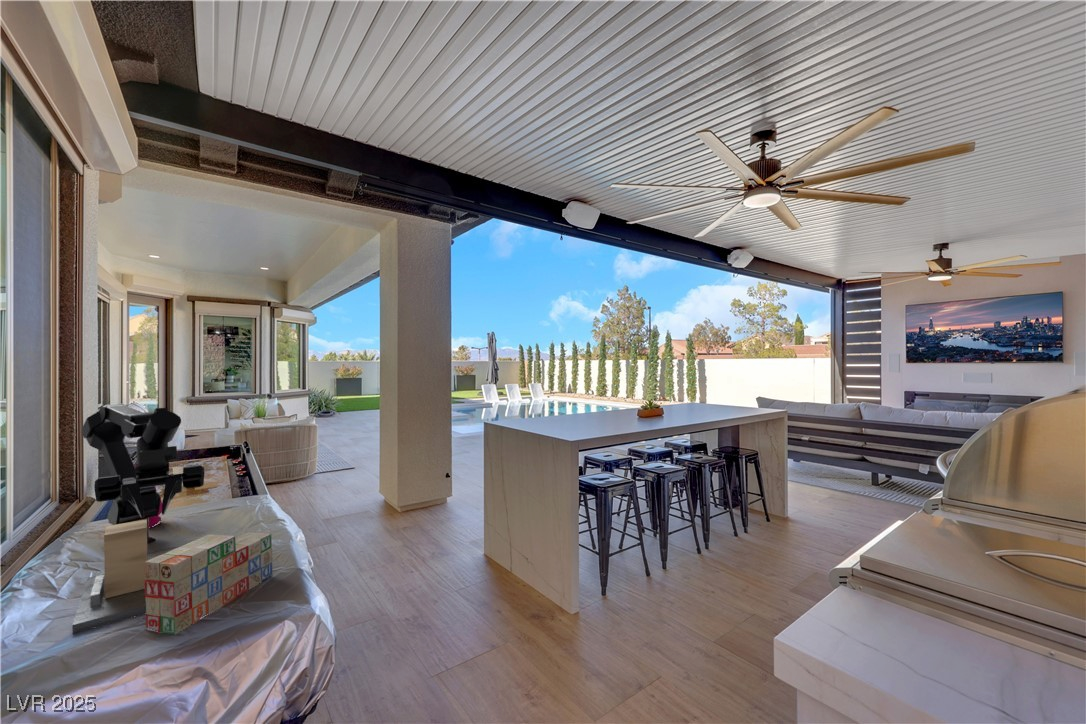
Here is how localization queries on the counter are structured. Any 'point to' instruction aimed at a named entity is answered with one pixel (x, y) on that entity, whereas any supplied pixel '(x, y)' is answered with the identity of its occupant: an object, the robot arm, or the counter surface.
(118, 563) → the oak block
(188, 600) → the stack of blocks
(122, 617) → the chute
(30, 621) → the counter surface
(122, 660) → the counter surface
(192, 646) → the counter surface
